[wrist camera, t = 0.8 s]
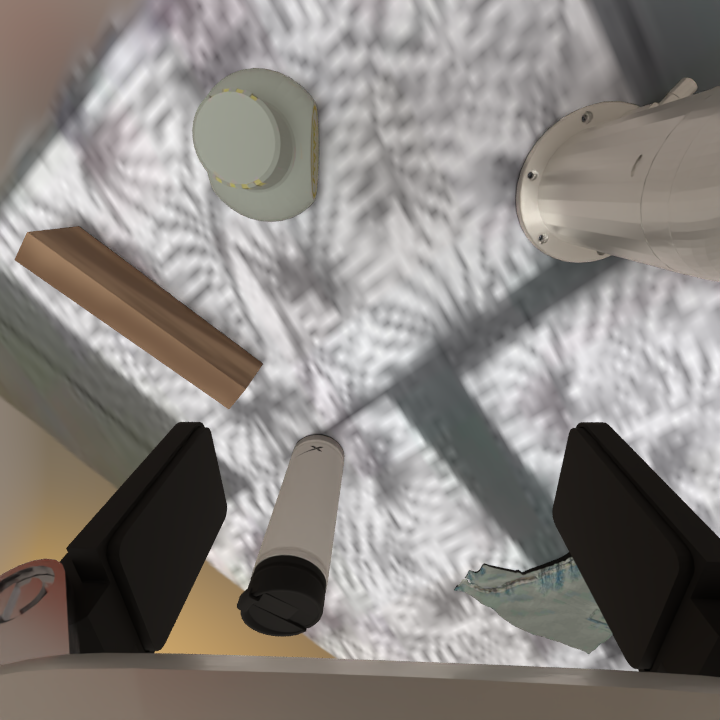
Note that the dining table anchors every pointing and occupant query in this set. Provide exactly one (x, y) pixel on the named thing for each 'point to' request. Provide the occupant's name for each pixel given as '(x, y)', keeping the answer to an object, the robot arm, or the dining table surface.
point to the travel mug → (297, 543)
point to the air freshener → (259, 144)
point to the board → (139, 310)
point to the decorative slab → (542, 601)
